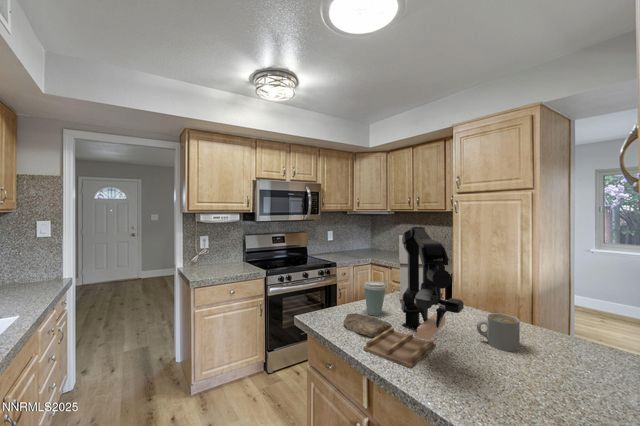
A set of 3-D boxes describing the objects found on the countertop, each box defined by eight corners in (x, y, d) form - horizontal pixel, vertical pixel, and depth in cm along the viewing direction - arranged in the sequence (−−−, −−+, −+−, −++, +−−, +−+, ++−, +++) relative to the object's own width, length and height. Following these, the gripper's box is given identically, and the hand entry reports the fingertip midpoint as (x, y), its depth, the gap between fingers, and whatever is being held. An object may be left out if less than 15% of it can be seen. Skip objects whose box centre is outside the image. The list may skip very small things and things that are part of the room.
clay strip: (435, 321, 108) (435, 313, 108) (445, 323, 105) (445, 315, 105) (417, 336, 96) (417, 327, 96) (428, 340, 93) (428, 330, 93)
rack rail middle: (410, 336, 114) (410, 332, 114) (412, 337, 113) (412, 333, 113) (386, 354, 101) (386, 349, 101) (388, 355, 100) (388, 350, 100)
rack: (392, 332, 121) (392, 330, 121) (436, 346, 108) (436, 343, 108) (363, 350, 106) (363, 347, 106) (410, 368, 94) (410, 365, 94)
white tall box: (420, 298, 165) (420, 235, 164) (422, 304, 154) (422, 237, 154) (399, 297, 167) (399, 235, 167) (400, 303, 157) (399, 237, 156)
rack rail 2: (431, 343, 109) (431, 338, 109) (433, 344, 108) (433, 339, 108) (408, 362, 95) (407, 357, 95) (410, 363, 95) (410, 358, 95)
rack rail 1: (391, 331, 120) (391, 327, 120) (394, 331, 119) (394, 327, 119) (366, 346, 106) (366, 342, 106) (368, 347, 106) (368, 343, 106)
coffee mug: (520, 343, 110) (520, 316, 109) (518, 354, 102) (518, 325, 102) (479, 334, 118) (479, 309, 118) (475, 343, 110) (474, 317, 110)
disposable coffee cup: (363, 309, 148) (363, 279, 148) (385, 310, 147) (385, 279, 147) (363, 317, 138) (363, 284, 138) (387, 318, 136) (387, 285, 136)
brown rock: (335, 326, 129) (371, 340, 114) (335, 314, 129) (371, 327, 114) (357, 318, 138) (393, 331, 123) (357, 308, 138) (393, 319, 123)
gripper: (394, 280, 100) (395, 325, 101) (452, 290, 88) (452, 342, 88) (409, 274, 109) (409, 316, 109) (464, 282, 96) (464, 330, 97)
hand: (431, 325), depth 101 cm, fingers closed on clay strip, 4 cm apart
